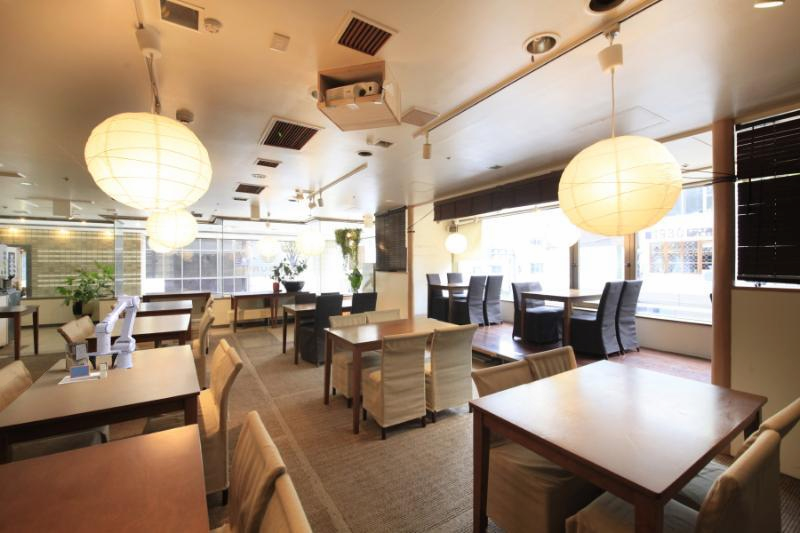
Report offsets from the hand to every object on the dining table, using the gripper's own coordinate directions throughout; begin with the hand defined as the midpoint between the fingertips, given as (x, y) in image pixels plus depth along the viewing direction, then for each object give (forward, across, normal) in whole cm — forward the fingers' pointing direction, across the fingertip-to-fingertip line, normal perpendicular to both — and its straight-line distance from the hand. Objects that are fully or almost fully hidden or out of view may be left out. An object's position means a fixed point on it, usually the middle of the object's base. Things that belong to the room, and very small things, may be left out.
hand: (103, 368), depth 190 cm
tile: (+5, -11, +6) cm, 14 cm away
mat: (+5, -10, +3) cm, 12 cm away
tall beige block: (+5, 0, 0) cm, 5 cm away
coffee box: (+5, -16, +23) cm, 29 cm away
